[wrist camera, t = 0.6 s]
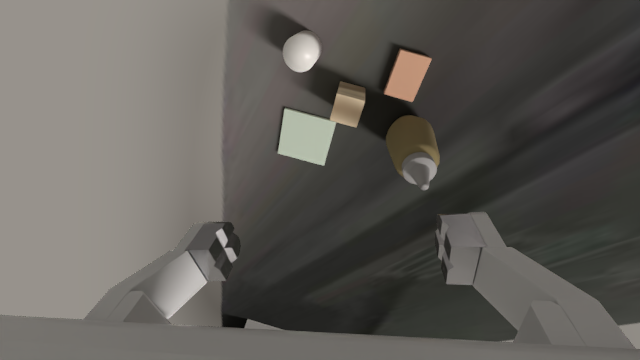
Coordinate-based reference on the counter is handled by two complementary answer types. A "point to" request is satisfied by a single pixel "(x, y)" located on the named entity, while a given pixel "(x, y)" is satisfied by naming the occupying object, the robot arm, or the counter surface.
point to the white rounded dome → (302, 51)
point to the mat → (305, 136)
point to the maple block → (348, 104)
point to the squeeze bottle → (413, 149)
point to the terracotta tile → (407, 75)
